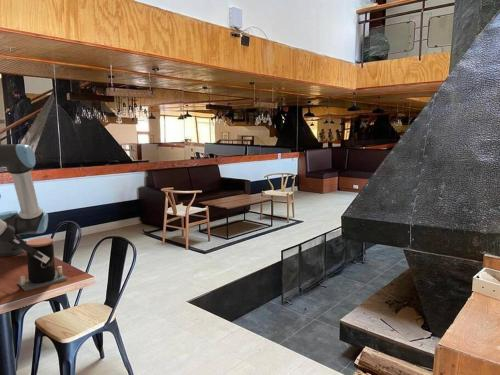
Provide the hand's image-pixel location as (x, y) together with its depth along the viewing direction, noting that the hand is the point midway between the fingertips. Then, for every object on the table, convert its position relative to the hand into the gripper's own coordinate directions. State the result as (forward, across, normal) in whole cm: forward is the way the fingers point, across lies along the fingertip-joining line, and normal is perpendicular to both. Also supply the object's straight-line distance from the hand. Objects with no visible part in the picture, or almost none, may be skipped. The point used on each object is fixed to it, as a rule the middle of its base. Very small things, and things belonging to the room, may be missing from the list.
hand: (42, 257), depth 164 cm
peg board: (+8, 0, -9) cm, 12 cm away
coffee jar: (+7, 0, -8) cm, 11 cm away
